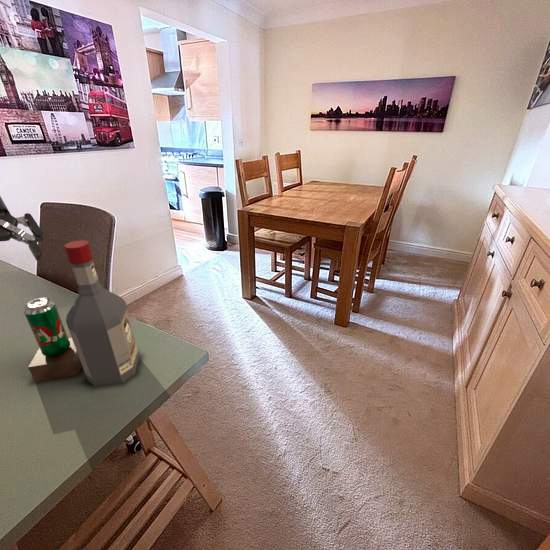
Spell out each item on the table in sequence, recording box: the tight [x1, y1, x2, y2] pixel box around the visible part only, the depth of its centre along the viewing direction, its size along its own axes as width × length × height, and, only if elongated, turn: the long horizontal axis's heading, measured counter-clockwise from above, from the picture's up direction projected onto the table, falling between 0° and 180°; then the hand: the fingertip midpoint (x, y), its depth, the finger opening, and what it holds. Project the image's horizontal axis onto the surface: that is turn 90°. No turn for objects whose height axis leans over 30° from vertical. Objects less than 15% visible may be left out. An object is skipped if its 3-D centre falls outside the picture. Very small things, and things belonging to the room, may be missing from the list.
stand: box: [27, 337, 83, 383], centre depth 66 cm, size 8×8×5 cm
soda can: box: [23, 297, 70, 357], centre depth 62 cm, size 5×5×12 cm
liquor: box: [63, 239, 140, 387], centre depth 59 cm, size 9×9×30 cm
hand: (14, 264), depth 61 cm, fingers open, 8 cm apart
